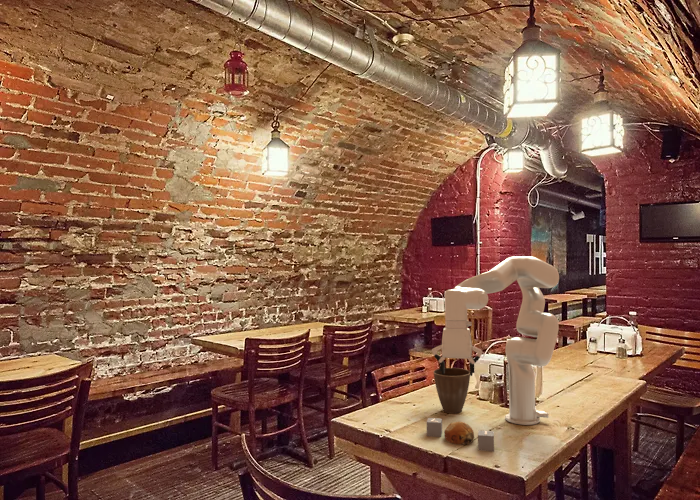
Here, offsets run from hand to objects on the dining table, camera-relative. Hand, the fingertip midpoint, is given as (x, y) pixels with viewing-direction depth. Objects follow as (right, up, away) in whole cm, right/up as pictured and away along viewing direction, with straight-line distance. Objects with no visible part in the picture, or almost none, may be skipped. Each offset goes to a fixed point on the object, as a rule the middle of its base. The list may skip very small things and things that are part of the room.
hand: (457, 374), depth 184 cm
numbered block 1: (+8, -22, -9) cm, 25 cm away
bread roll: (+1, -23, -1) cm, 23 cm away
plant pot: (+5, -23, +33) cm, 41 cm away
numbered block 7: (-7, -23, +6) cm, 24 cm away
